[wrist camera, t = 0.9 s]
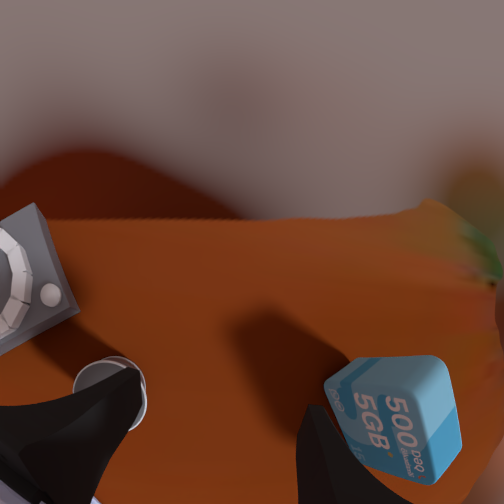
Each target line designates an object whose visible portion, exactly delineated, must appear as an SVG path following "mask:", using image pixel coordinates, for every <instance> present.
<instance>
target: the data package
mask: <svg viewBox="0 0 504 504" xmlns="http://www.w3.org/2000/svg"><path fill="white" fill-rule="evenodd" d="M324 390H325V393H326V395H327V398H328V400H329V402H330V405H331V407H332V409H333V412H334V414H335V416H336V418H337V421H338V423H339V425H340V428H341V430H342V432H343V435H344V437H345V439H346V442H347V444H348V446H349V449H350V450H351V451H352V453H353V454H354V455H355V457H356V458H357V459H358V460H359V461H360V463H362V464H364V465H366V466H369V467H372V468H374V469H377V470H380V471H383V472H385V473H388V474H391V475H394V476H397V477H401V478H404V479H407V480H410V481H414V482H417V483H421V484H424V485H431V484H434V483H435V482H436V481H437V480H438V479H439V478H440V476H441V475H442V474H443V473H444V471H445V470H446V469H447V468H448V466H449V465H450V464H451V462H452V461H453V460H454V458H455V457H456V456H457V454H458V453H459V451H460V450H461V448H462V441H461V434H460V427H459V421H458V415H457V410H456V405H455V399H454V395H453V390H452V385H451V381H450V377H449V373H448V369H447V367H446V365H445V364H444V362H443V361H442V360H440V359H439V358H437V357H435V356H432V355H423V356H406V357H378V358H356V359H355V360H353V361H352V362H351V363H349V364H348V365H347V366H345V367H344V368H343V369H341V370H340V371H338V372H337V373H336V374H334V375H333V376H331V377H330V378H329V379H327V380H326V381H325V383H324Z"/></svg>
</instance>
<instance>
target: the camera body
mask: <svg viewBox="0 0 504 504" xmlns="http://www.w3.org/2000/svg"><path fill="white" fill-rule="evenodd" d="M79 312H81V311H80V309H79V307H78V305H77V303H76V300H75V298H74V296H73V293H72V291H71V289H70V286H69V284H68V282H67V279H66V277H65V274H64V272H63V269H62V266H61V264H60V261H59V258H58V256H57V253H56V250H55V247H54V244H53V241H52V238H51V235H50V232H49V229H48V226H47V223H46V219H45V218H44V217H43V215H42V214H41V212H40V211H39V209H38V208H37V206H36V205H35V203H32V204H30V205H28V206H26V207H24V208H23V209H21V210H19V211H17V212H15V213H14V214H12V215H10V216H8V217H7V218H5V219H3V220H2V221H0V356H1V355H2V354H4V353H6V352H8V351H9V350H11V349H13V348H15V347H17V346H18V345H20V344H22V343H24V342H26V341H27V340H29V339H31V338H33V337H35V336H36V335H38V334H40V333H42V332H44V331H45V330H47V329H49V328H51V327H53V326H55V325H57V324H58V323H60V322H62V321H64V320H66V319H68V318H69V317H71V316H73V315H75V314H77V313H79Z"/></svg>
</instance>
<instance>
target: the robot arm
mask: <svg viewBox="0 0 504 504" xmlns="http://www.w3.org/2000/svg"><path fill="white" fill-rule="evenodd" d="M142 404H143V401H142V390H141V377H140V370H137V369H134V368H130V367H126V368H124V369H122V370H120V371H119V372H117V373H115V374H113V375H111V376H109V377H107V378H106V379H104V380H102V381H100V382H98V383H96V384H94V385H92V386H90V387H87V388H85V389H83V390H80V391H78V392H76V393H73V394H71V395H68V396H65V397H62V398H59V399H55V400H52V401H47V402H42V403H37V404H31V405H21V406H0V504H101V503H100V502H99V501H98V500H97V499H96V498H95V497H94V493H95V491H96V488H97V486H98V484H99V481H100V479H101V477H102V474H103V472H104V470H105V468H106V466H107V464H108V462H109V460H110V458H111V457H112V455H113V453H114V452H115V450H116V449H117V447H118V446H119V444H120V443H121V441H122V440H123V438H124V437H125V435H126V434H127V432H128V431H129V429H130V428H131V426H132V425H133V423H134V422H135V420H136V418H137V415H138V413H139V411H140V409H141V407H142ZM296 467H297V482H298V504H413V503H411V502H409V501H407V500H405V499H403V498H402V497H400V496H399V495H397V494H396V493H394V492H393V491H391V490H390V489H389V488H387V487H386V486H385V485H384V484H382V483H381V482H380V481H379V480H378V479H376V478H375V477H374V476H373V475H372V474H371V473H370V472H369V471H368V470H367V469H366V468H365V467H364V466H363V465H362V464H361V463H360V461H359V460H358V459H357V458H356V457H355V455H354V454H353V453H352V451H351V450H350V449H349V447H348V446H347V445H346V443H345V442H344V440H343V439H342V437H341V436H340V434H339V432H338V431H337V429H336V428H335V426H334V424H333V422H332V421H331V419H330V417H329V415H328V414H327V412H326V410H325V408H324V407H323V406H321V405H309V404H308V407H307V410H306V413H305V416H304V419H303V421H302V424H301V427H300V429H299V432H298V435H297V445H296Z"/></svg>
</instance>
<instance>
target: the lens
mask: <svg viewBox="0 0 504 504" xmlns="http://www.w3.org/2000/svg"><path fill="white" fill-rule="evenodd" d="M126 367H130V368H134V369H137V370H140V369H139V367H138V366H137V365H136V364H135V363H134V362H132V361H131V360H129V359H127V358H125V357H121V356H110V357H106V358H104V359H102V360H100V361H96V362H93V363H91V364H89V365H87V366H86V367H84V368H83V369H82V370H81V371H80V372H79V374H78V375H77V377H76V379H75V382H74V385H73V393H76V392H78V391H80V390H83V389H85V388H87V387H90V386H92V385H94V384H96V383H98V382H100V381H102V380H104V379H106V378H107V377H109V376H111V375H113V374H115V373H117V372H119V371H120V370H122V369H124V368H126ZM140 377H141V390H142V401H143V404H142V407H141V409H140V411H139V413H138V415H137V418H136V420H135V422H134V423H133V425H132V426H131V428H130V429H129V431H130V430H131V429H133V428H135V427H136V426H137V425H138V424H139V423H140V422H141V420H142V419H143V417H144V415H145V412H146V406H147V398H146V392H145V390H146V385H145V379H144V376H143V374H142V372H141V370H140Z"/></svg>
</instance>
